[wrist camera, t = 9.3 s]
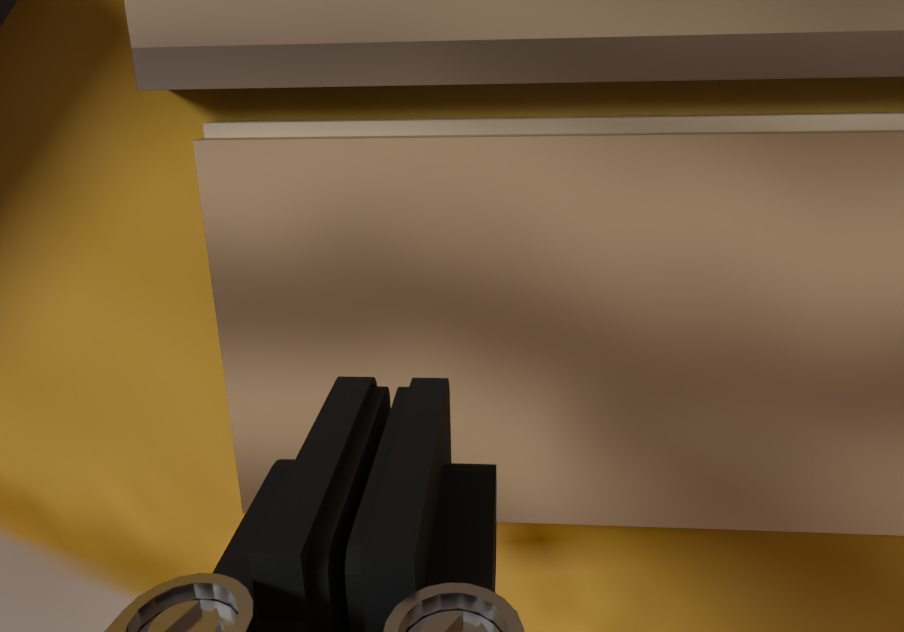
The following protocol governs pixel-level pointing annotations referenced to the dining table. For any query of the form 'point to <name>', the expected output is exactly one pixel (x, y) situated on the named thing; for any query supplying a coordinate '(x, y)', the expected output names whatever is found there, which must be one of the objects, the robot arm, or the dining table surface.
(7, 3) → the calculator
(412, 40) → the laid row
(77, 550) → the dining table surface
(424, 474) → the robot arm
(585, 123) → the plank
